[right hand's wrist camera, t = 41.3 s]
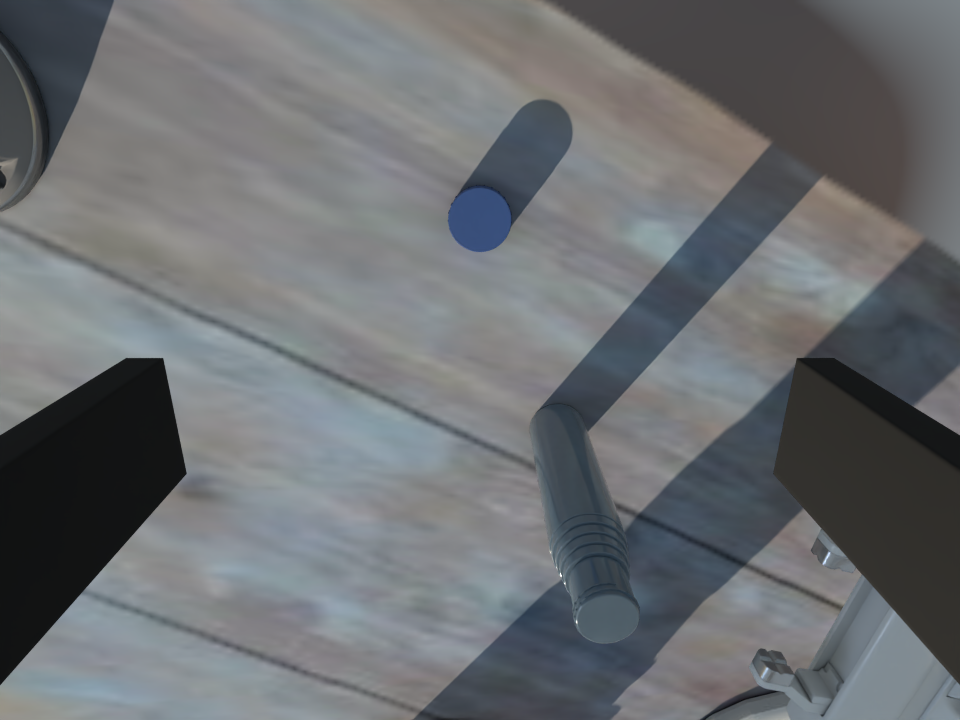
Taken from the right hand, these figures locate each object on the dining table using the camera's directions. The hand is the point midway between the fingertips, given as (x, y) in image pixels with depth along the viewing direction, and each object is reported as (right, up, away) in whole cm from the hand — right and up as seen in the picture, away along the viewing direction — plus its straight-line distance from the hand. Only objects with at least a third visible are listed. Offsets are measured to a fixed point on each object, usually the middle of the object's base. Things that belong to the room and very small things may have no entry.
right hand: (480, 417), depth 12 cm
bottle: (+7, -5, +39) cm, 40 cm away
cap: (0, +12, +31) cm, 33 cm away
